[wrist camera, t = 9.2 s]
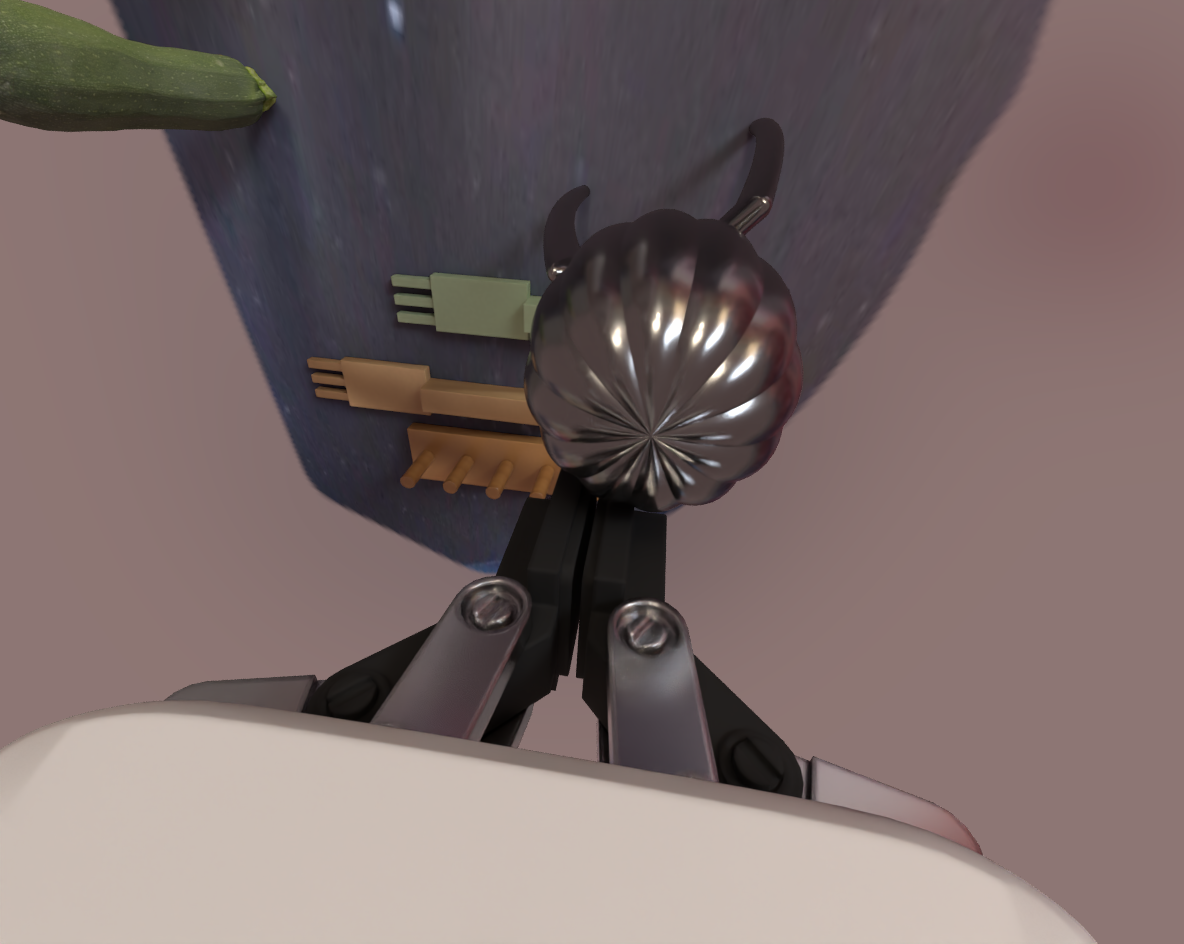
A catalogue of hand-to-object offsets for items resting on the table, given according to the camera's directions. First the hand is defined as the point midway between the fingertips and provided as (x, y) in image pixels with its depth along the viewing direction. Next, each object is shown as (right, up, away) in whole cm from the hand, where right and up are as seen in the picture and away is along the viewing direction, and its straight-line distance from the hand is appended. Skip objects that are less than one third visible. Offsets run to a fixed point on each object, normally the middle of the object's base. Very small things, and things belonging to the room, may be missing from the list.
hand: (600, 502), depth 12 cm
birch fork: (-12, +7, +29) cm, 32 cm away
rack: (-7, +2, +32) cm, 33 cm away
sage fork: (-3, +12, +25) cm, 28 cm away
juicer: (+6, +18, +19) cm, 27 cm away
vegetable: (-21, +25, +20) cm, 38 cm away
